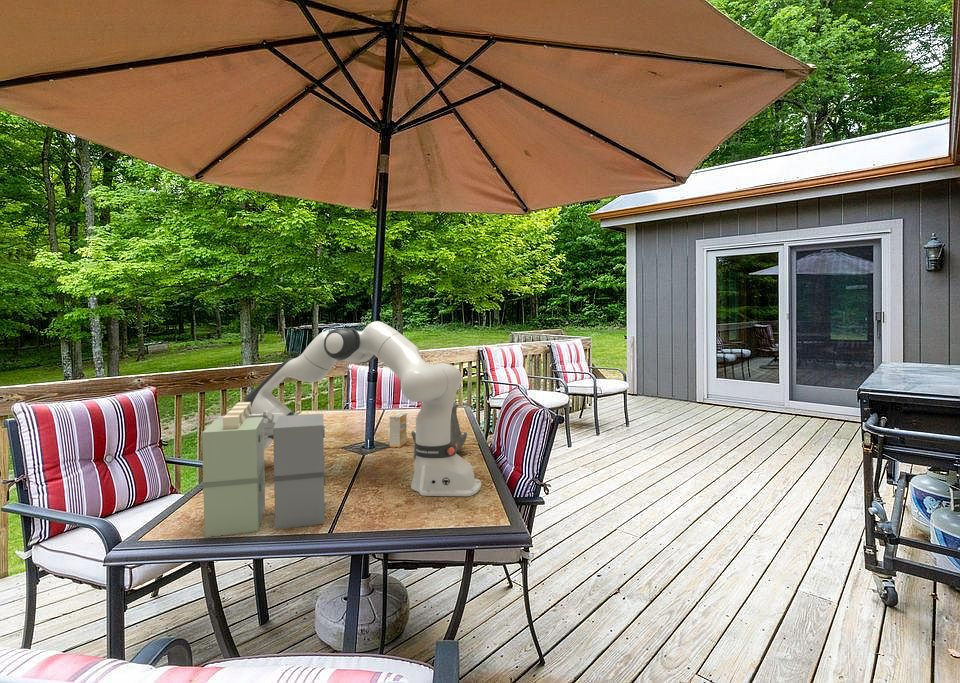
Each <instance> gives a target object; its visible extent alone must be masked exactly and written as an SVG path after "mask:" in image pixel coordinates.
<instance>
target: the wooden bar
mask: <svg viewBox="0 0 960 683" xmlns="http://www.w3.org/2000/svg"><path fill="white" fill-rule="evenodd" d="M250 413H251V402H244V401H241V402H240V401H239V402H237V403H236V404H235V405H234V406H233V407H231V408H230V410H229V411H228V412H227V413H226V414H225V415H223V416H224V417H223V429H239V427H240V426H241V425H242V423H243V422H244V421H245V419H246V418H247V417H248V416H249V415H250Z"/></svg>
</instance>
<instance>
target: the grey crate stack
mask: <svg viewBox="0 0 960 683" xmlns="http://www.w3.org/2000/svg"><path fill="white" fill-rule="evenodd" d="M325 427H326V426H325V425H324V413H316V414H315V413H313V414H311V413H309V414H294V415H290V416H279V417H278V419H277V421H276V423H275V425H274V428H273V440H272V443H273V476H272V480H273V484H274V485H273V486H274V490H273V493H274V529H275V530H280V529H282V530H283V529H289V528H298V527H307V526H313V525H314V526H315V525H322V524H325V486H326V471H325V468H326V467H325V466H326V462H325V460H326V459H325V450H324V448H325V444H324V442H325V434H326V432H325Z"/></svg>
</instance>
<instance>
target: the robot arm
mask: <svg viewBox="0 0 960 683" xmlns="http://www.w3.org/2000/svg"><path fill="white" fill-rule="evenodd" d="M376 358H377V359H378V360H379V361H381V363H383V364H384V365H385V366H386V367H387V368H388V369H389V370H390V371H392V372H393V373H394V374H395V375H396V377H397V378H398V379H399V381H400V389H401V393H402V394H403V396H404V398H406V399H407V400H408V401H410V402H414V403H415V402H416V403H423V404H422V407H421V406H420V410H419V412H418V413H417V415H416V418H415V433H416V442H414V446H413V455H414V458H413V459H414V468H413V469H414V470H413V475H412V480H411V483H410V488H411V490H413V491H415V492H417V493H418V494H419V495H420V496H422V497H470V496H473V495H476V494H477V493H478V492H479V491H480V490H481V489H482V481H481V480H480V479H479V478H475V472H474V468H473V466H472V465H471V463H469V462H467V461H466V460H465V459H464V458H463V457H461V456H460V455H459V454H457V452H456V448H457V443H456V444H453V443H452V442H451V441H450V425H451V413H452V408H453V404H454V402H455V398H456V395H457V392H458V390H459V389H460V387H461V385H462V381H463V378H462V373H461V371H460V369H459V368H457V366H455V365H453V364H450V363H444V362H440V363H435V364H431V363H429V362H427V361H425V360H424V359H423V358H422V356H421V355H420V349H419V348H418V346H416V345H415V344H414V343H413V342H412V341H410V340H409V339H408V338H407V337H405V336H404V335H403V334H402V333H400V332H399V331H398V330H396V329H395V328H393V327H392V326H390V325H388V324H387V323H385V322H382V321H379V320H375V321H372V322H370V323H369V324H367V325H366V326H365V327H364V328H363V330H361V331H359V330H356V328H355V329H354V328H346V327H340V328H335V329H332V330H330V331H328V330H325V331H322V332H320V333H319V334H318V335H316V336H315V337H314V338H313V339H312V341H311V342H310V343H309V344H308V345H307V347H305V349H304V350H303V352H302V353H301V354H300V355H299V356H297V357H289V358H288V359H285V360H284V361H283V362H282V363H281V364H279V365H277V367H276V368H275V369H274V370H273V371H272V372H271V373H270V374H269V375H268V376H267V377H265V379H263V380H262V382H261V383H259V384H258V385H257V387H255V388H254V389H253V390H251V391H250V392H249V393H248V394H247V395H246V396H245V398H244V399H243V402H251V413H250V414H249V416H248V417H247V418H253V417H263V419H264V450H266V449H267V448H269V447H270V446H271V444H272V443H273V428H274V425H275V423H276V421H277V419H278V417H279V416H290V415H295V414H294V411H293V410H291V409H290V408H289V407H288V406H286V404H284V403H282V401H280V400H279V399H278V398H277V397H276V396H274V395H273V390H275V389H276V388H277V387H278V386H279V385H280V384H281V383H282V382H283V381H284V380H285V379H286V378H291V379H294V380H298V381H300V382H305V383H317V382H319V381H322V380H323V379H324V378H325V377H326V376H327V375H328V374H329V372H330V371H331V370H332V368H333V367H334V366H335V364H336V362H338V361H341V362H347V363H354V364H356V363H357V364H358V363H359V364H368V363H370V362H373V361H374V360H375V359H376ZM224 416H225V415H219V416H217V417H216V418H215V420H216V419H223V417H224Z"/></svg>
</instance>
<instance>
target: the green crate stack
mask: <svg viewBox="0 0 960 683" xmlns="http://www.w3.org/2000/svg"><path fill="white" fill-rule="evenodd" d="M201 439H202V440H201V445H202V447H201V449H202V452H201V453H202V483H201V488H202V489H203V490H202V491H203V520H204V521H203V523H204V524H203V526H204V527H203V528H204V531H203V532H204V538H211V536H214V537H219V536H220V537H221V535H223V536H229V535H230V536H231V535H237V534H238V535H239V534H246V533H256V532H255V531H257V532H259V530H258V529H260V526H261V522H262V520H263V516H264V514H263V513H265V510H266V479H265V477H266V476H265V474H266V473H265V466H266V460H265V449H264V419H263V417H253V418H246V419H245V421H244V422H243V423H242V425H241V426H240V427H239V429H223V419H216V418H215V420H214V421H213V422H211V423H210V424H209V425H208V426H207V427H206V428H205V429H204V430H203V431H201Z"/></svg>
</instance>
